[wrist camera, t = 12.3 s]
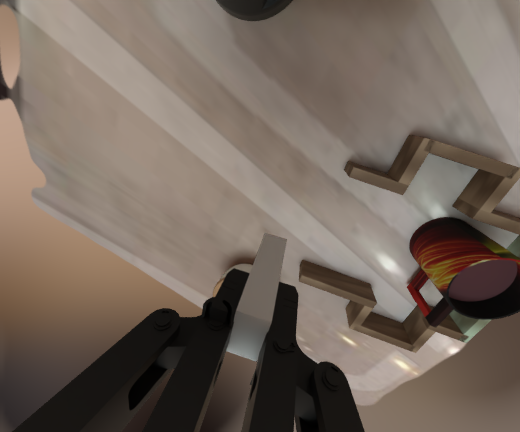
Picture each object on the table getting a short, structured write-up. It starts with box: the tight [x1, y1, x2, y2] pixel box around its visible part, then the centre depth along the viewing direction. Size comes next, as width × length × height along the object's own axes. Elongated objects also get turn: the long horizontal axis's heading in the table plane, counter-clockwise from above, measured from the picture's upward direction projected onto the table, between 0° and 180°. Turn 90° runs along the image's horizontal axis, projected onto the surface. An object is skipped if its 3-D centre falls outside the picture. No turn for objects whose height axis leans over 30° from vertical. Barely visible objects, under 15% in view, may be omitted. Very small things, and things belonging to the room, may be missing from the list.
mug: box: [407, 217, 520, 328], centre depth 35 cm, size 10×14×12 cm
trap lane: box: [299, 135, 520, 353], centre depth 39 cm, size 34×31×5 cm
